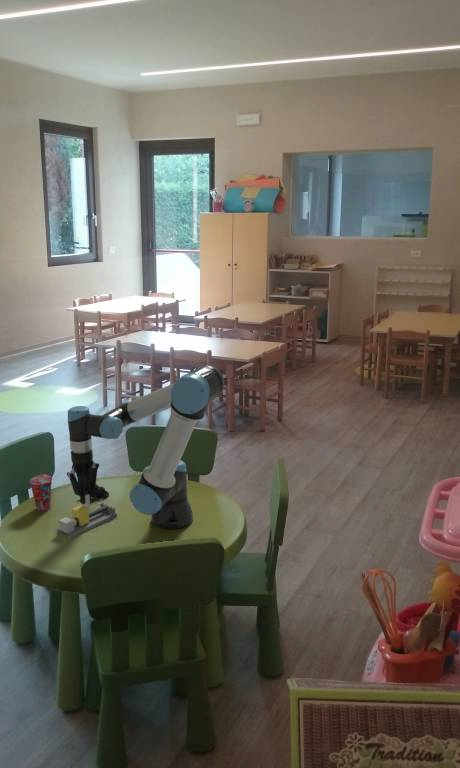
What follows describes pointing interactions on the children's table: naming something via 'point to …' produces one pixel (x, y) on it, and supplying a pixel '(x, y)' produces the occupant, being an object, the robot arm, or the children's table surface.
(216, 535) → the children's table surface
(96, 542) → the children's table surface
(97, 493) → the stuffed animal
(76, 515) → the sleeve
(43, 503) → the cup
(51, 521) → the children's table surface
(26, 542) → the children's table surface
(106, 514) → the comb rail
